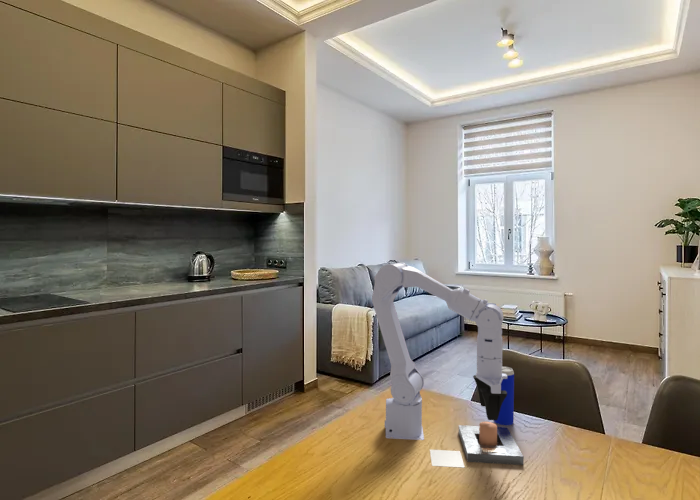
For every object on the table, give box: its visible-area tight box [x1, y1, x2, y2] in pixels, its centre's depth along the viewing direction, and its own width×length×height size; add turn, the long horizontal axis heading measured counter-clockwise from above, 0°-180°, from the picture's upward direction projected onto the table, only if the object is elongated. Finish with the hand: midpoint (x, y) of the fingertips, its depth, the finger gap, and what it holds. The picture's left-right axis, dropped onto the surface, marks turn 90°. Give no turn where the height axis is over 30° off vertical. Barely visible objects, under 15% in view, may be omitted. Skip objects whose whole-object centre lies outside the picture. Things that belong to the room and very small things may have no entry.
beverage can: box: [492, 365, 515, 427], centre depth 114 cm, size 5×5×15 cm
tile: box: [429, 448, 465, 469], centre depth 95 cm, size 7×7×1 cm
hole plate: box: [458, 424, 525, 466], centre depth 100 cm, size 12×14×3 cm
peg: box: [478, 421, 498, 446], centre depth 100 cm, size 4×4×6 cm
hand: (488, 412), depth 100 cm, fingers open, 7 cm apart
